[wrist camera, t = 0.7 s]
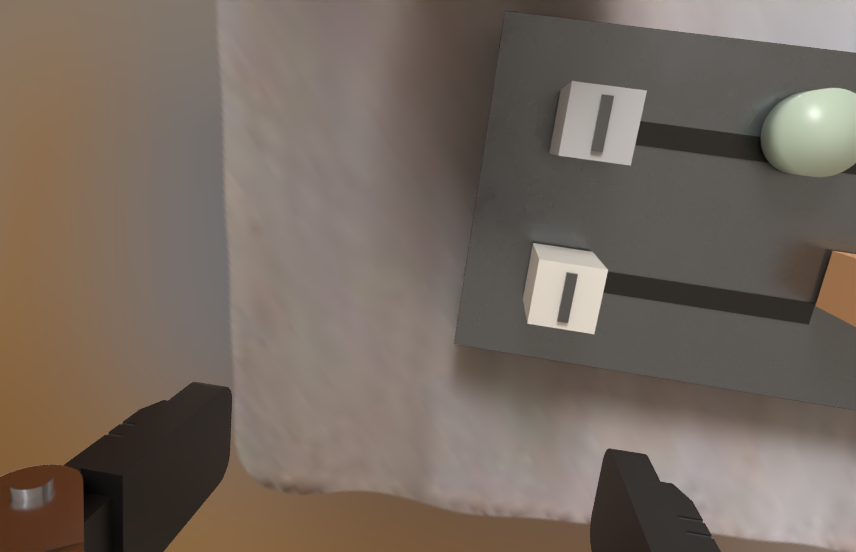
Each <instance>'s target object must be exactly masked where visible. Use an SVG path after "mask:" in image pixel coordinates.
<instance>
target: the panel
mask: <svg viewBox="0 0 856 552" xmlns="http://www.w3.org/2000/svg"><path fill="white" fill-rule="evenodd" d="M572 81H576V82H584V83H592V84H599V85H607V86H615V87H623V88H631V89H639V90H646V91H647V93H646V97H645V102H644V107H643V111H642V116H641V120H640V125H639V130H638V134H637V139H636V144H635V148H634V153H633V157H632V162H631V166H630V165H623V164H616V163H608V162H601V161H594V160H587V159H579V158H572V157H565V156H558V155H554V154H550V153H549V152H550V146H551V140H552V135H553V129H554V124H555V118H556V113H557V107H558V102H559V96H560V91H561V89H562V88H563V87H565V86H566V85H567V84H569V83H570V82H572ZM826 88H841V89H846V90H849V91H852V92H853V93H855V94H856V53H852V52H844V51H836V50H827V49H819V48H811V47H802V46H794V45H786V44H777V43H769V42H760V41H752V40H744V39H735V38H727V37H719V36H710V35H702V34H694V33H685V32H677V31H668V30H660V29H652V28H643V27H635V26H627V25H618V24H610V23H602V22H593V21H585V20H576V19H568V18H560V17H551V16H543V15H535V14H526V13H518V12H509V11H505V14H504V21H503V28H502V34H501V41H500V47H499V54H498V60H497V67H496V73H495V80H494V86H493V93H492V99H491V106H490V113H489V119H488V126H487V132H486V139H485V145H484V152H483V158H482V165H481V171H480V178H479V184H478V191H477V197H476V204H475V211H474V217H473V224H472V230H471V237H470V243H469V250H468V256H467V263H466V269H465V276H464V282H463V289H462V295H461V302H460V309H459V315H458V322H457V328H456V335H455V341H454V344H457V345H463V346H469V347H475V348H481V349H487V350H493V351H500V352H506V353H512V354H518V355H524V356H530V357H536V358H542V359H548V360H554V361H560V362H566V363H572V364H578V365H584V366H590V367H597V368H603V369H609V370H615V371H621V372H627V373H633V374H639V375H645V376H651V377H657V378H663V379H669V380H675V381H681V382H687V383H694V384H700V385H706V386H712V387H718V388H724V389H730V390H736V391H742V392H748V393H754V394H760V395H766V396H772V397H778V398H784V399H791V400H797V401H803V402H809V403H815V404H821V405H827V406H833V407H839V408H845V409H851V410H856V327H855V326H853V325H851V324H849V323H847V322H845V321H843V320H841V319H839V318H837V317H835V316H834V315H832V314H830V313H828V312H826V311H824V310H822V309H820V308H818V307H816V302H817V299H818V296H819V293H820V290H821V286H822V283H823V280H824V277H825V274H826V271H827V267H828V264H829V261H830V258H831V255H832V251H838V252H845V253H851V254H856V163H855V164H854V165H853V166H851V167H850V168H849V169H847V170H845V171H843V172H841V173H839V174H836V175H833V176H828V177H811V176H802V175H794V174H788V173H785V172H782V171H780V170H778V169H776V168H775V167H773V166H772V165H771V164H770V163H769V162H768V160H767V159H766V157H765V155H764V153H763V151H762V147H761V131H762V127H763V124H764V121H765V119H766V117H767V116H768V114H769V113H770V111H771V110H772V109H773V108H774V107H775V106H776V105H777V104H778V103H779V102H781V101H782V100H784V99H785V98H787V97H789V96H791V95H794V94H797V93H801V92H806V91H813V90H819V89H826ZM533 243H537V244H544V245H551V246H557V247H564V248H571V249H577V250H584V251H591V252H593V253H594V254H595V255H596V256H597V258H598V259H599V260H600V261H601V262H602V263H603V264H604V266H605V267H606V268H607V269H608V273H607V278H606V282H605V287H604V291H603V296H602V301H601V305H600V310H599V314H598V319H597V324H596V328H595V333H594V334H589V333H583V332H577V331H570V330H564V329H558V328H552V327H546V326H539V325H533V324H527V319H526V313H525V308H524V302H523V295H524V290H525V284H526V279H527V273H528V268H529V262H530V257H531V251H532V246H533Z"/></svg>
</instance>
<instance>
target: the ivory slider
mask: <svg viewBox="0 0 856 552" xmlns="http://www.w3.org/2000/svg"><path fill="white" fill-rule="evenodd" d="M607 273H608V269H607V268H606V267H605V266H604V264H603V263H602V262H601V261H600V260H599V259H598V258H597V256H596V255H595V254H594V253H593V252H591V251H584V250H577V249H571V248H564V247H557V246H551V245H544V244H537V243H533V246H532V251H531V257H530V262H529V268H528V273H527V279H526V284H525V290H524V295H523V302H524V308H525V313H526V319H527V324H533V325H539V326H546V327H552V328H558V329H564V330H570V331H577V332H583V333H589V334H594V333H595V328H596V324H597V319H598V314H599V310H600V305H601V301H602V296H603V291H604V287H605V282H606V278H607Z"/></svg>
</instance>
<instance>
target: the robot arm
mask: <svg viewBox="0 0 856 552" xmlns="http://www.w3.org/2000/svg"><path fill="white" fill-rule="evenodd" d="M231 413H232V394H231V390H230V389H229V388H228V387H224V386H218V385H211V384H205V383H199V382H193V383H191V384H189V385H188V386H187V387H185V388H184V389H183V390H181V391H180V392H179V393H178V394H176V395H175V396H174V397H172V398H171V399H170V400H168V401H166V400H163V401H160V402H158V403H155V404H153V405H150V406H148V407H145V408H142V409H140V410H138V411H137V412H136V413H134V414H133V415H132V416H130V417H129V418H128V419H126V420H125V421H123V424H122V425H121V424H120V425H118V426H117V427H115V428H114V429H112V430H111V431H110V432H109V434H108V435H104V436H103V437H102V438H100V439H99V440H98V441H96V442H95V443H93V444H92V445H91V446H89V447H88V448H86V449H85V450H84V451H83V452H81V453H80V454H78V455H77V456H75V457H74V458H73V459H71V460H70V461H69V462H67V463H66V464H65V465H52V464H51V465H38V466H32V467H27V468H23V469H19V470H16V471H13V472H10V473H8V474H5V475H3V476H1V477H0V552H163V551H164V550H165V549H166V548H167V547H168V545H169V544H170V543H171V542H172V541H173V539H174V538H175V537H176V536H177V534H178V533H179V532H180V531H181V530H182V528H183V527H184V526H185V525H186V524H187V522H188V521H189V520H190V519H191V517H192V516H193V515H194V514H195V513H196V511H197V510H198V509H199V508H200V507H201V505H202V504H203V503H204V502H205V500H206V499H207V498H208V497H209V496H210V494H211V493H212V492H213V491H214V490H215V488H216V487H217V486H218V484H219V483H220V482H221V480H222V479H223V477H224V474H225V472H226V469H227V466H228V462H229V456H230V437H231ZM590 543H591V549H592V552H721V551H720V549H719V548H718V546H717V544H716V542H715V541H714V539H711V534H710V532H709V530H708V528H707V526H706V525H705V523H703V519H702V518H701V516H700V514H699V512H698V510H697V509H696V507H695V505H694V503H693V502H692V501H691V500H690V499H689V498H688V497H687V496H686V495H685V494H684V493H682V492H681V491H680V490H679V489H678V488H677V487H676V486H675V485H673V484H671V483H665V482H660V480H659V478H658V476H657V474H656V472H655V470H654V468H653V466H652V464H651V462H650V460H649V458H648V456H647V455H646V454H640V453H634V452H628V451H622V450H615V449H607V450H606V452H605V455H604V458H603V462H602V467H601V472H600V477H599V482H598V487H597V492H596V497H595V502H594V506H593V511H592V517H591V525H590Z"/></svg>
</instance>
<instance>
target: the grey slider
mask: <svg viewBox="0 0 856 552" xmlns="http://www.w3.org/2000/svg"><path fill="white" fill-rule="evenodd" d="M646 93H647V91H646V90H639V89H631V88H623V87H615V86H607V85H599V84H592V83H584V82H576V81H572V82H570V83H569V84H567V85H566V86H565V87H563V88H562V89H561V91H560V96H559V102H558V107H557V113H556V118H555V124H554V129H553V135H552V140H551V146H550V152H549V153H550V154H554V155H558V156H565V157H572V158H579V159H587V160H594V161H601V162H608V163H616V164H623V165H630V166H631V162H632V157H633V153H634V148H635V144H636V139H637V134H638V130H639V125H640V120H641V116H642V111H643V107H644V102H645V97H646Z"/></svg>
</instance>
